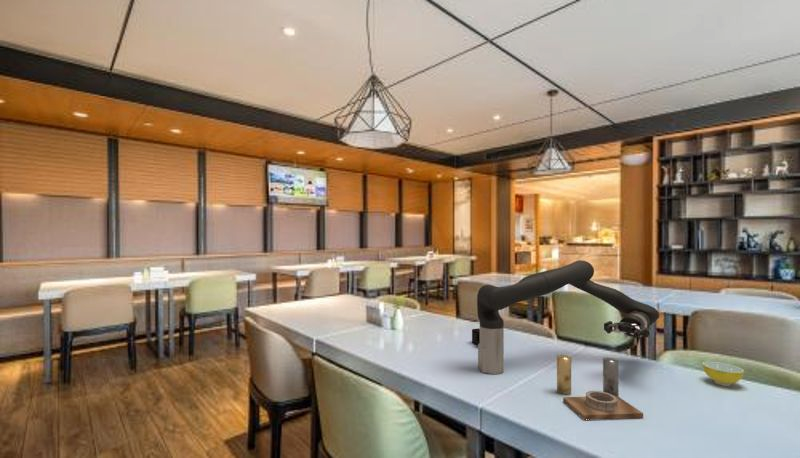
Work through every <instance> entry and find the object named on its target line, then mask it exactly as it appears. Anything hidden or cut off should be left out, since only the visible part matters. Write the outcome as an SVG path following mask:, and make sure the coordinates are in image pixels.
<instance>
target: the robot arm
mask: <svg viewBox="0 0 800 458" xmlns="http://www.w3.org/2000/svg"><path fill="white" fill-rule="evenodd" d="M594 275H595V269H594V266H593V265H592V264H591V263H590V262H589V261H586V260H576V261H574V262H572V263H569V264H567V265H564V266H561V267H557V268H553V269H549V270H544V271H540V272H536V273H532V274H529V275H526V276H525V277H523V278H521V279H520V280H519V281H517V282H516V283H514V284H510V285H504V286H496V285H491V284H484V285H482V286H481V287H480V288H479V290H478V291H477V297H476V306H477V307H476V308H477V311H476V312H477V318H478V322H479V329H480V344H478V346H477V368H478V370H480V372H481V373H483V374H490V375H499V374H502V373H504V370H505V369H504V366H505V365H504V364H505V363H504V361H505V360H504V353H505V351H504V350H505V349H504V348H505V347H504V346H505V345H504V344H505V343H504V337H505V334H504V331H505V330H504V327H505V326H504V325H505V324H504V319H503V318H502V316H501V315H500V312H499V311H502V310H504V309H506V308H508V307H510V306H513V305H515V304H517V303H520V302H525V301H528V300H531V299H534V298H535V299H536V298H538V297H542V296H543V297H544V296H546V295H548V294H551V293H553V292H555V291H558V290H560V289H561V288H563V287H565V286H568V285H571V286H572V287H574V288H576V289H578V290H581V291H583V292H585V293H587V294H589V295H591V296H593V297H595V298H597V299H600V300H601V301H603V302H605V303H606V304H608V305H609V306H611V307H613V309H616V310H617V311H618V312H620V313H622V314H624V315H626V316H624V317H623V318H621V319H620V321H619V322H613V321H612V320H609V321H607V322H604V323H603V331H605V332H606V334H611V333H613V332H614V333H616V334H619V333H622V334H624V335H626V336H628V337H633V338H634V339H637V338H642V336H643V337H644V338H649V337H650V336H651V325H653V324H654V323H655V322H657V321H658V319H660V313H659V311H658V309H657V308H655V307H653V305H650V304H646V303H644V302H642V301H641V302H640V301H637V300H635V299H633V298H631V297H630V296H629V295H627V294H625V293H624V292H622V291H620V290H618V289H616V288H613V287H610V286H606V285H602V284H600V283H596V282H594V281H593V280H591V279H592V278H593V276H594Z"/></svg>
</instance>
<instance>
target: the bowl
mask: <svg viewBox="0 0 800 458" xmlns="http://www.w3.org/2000/svg"><path fill="white" fill-rule="evenodd" d="M701 365H702V369H703V371H704V373H705V374H706V375H707V377H709V378H710V379H711V380H713V381H714V384H716V385H719V386H722V387H723V386H724V387H730V386H732V384H736V383H738V382H739V381H740V380H741V379H742V378H743V376H744V374H745V373H744V369H743V368H741V367H740V366H739V367H738V366H736V365H733V364H728V363H724V362H718V361H703V362H702V364H701Z"/></svg>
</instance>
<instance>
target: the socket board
mask: <svg viewBox="0 0 800 458" xmlns="http://www.w3.org/2000/svg"><path fill="white" fill-rule="evenodd" d="M562 400H563V401H562V402H563V403H564V404H565V405H566V404H567V405H568V406H569V407H568V406H567V405H566V406H567V407H568V408H569V409H571V410H572V411H573V410H574V411H575V412H576V413H577V414H576V413H575V412H574V411H573V412H574V413H575V414H576V415H577V416H579V415H580V416H581V417H582V418H583V419H584V420H585V421H591V420H590V419H593V420H592V421H595V420H594V419H605V420H606V419H610V420H632V419H638V420H639V419H644V412H642V411H641V410H639V409H638V408H636V407H635V406H633V405H631V404H630V403H629V402H627V401H625V400H624V399H622V398H621V397H620V396H619V397H618V396H614V395H612V394H609V393H606V392H603V391H600V390H589V391H587V392H585V396H566V397H565V396H563V398H562ZM580 416H579V417H580ZM581 417H580V418H581ZM582 418H581V419H582ZM583 419H582V420H583ZM586 419H587V420H586ZM588 419H589V420H588ZM584 420H583V421H584ZM605 420H604V421H605Z"/></svg>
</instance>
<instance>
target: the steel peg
mask: <svg viewBox="0 0 800 458" xmlns="http://www.w3.org/2000/svg"><path fill="white" fill-rule="evenodd" d="M619 366H620V364H619V360H618V359H616V358H614V357H603V358H602V392H606V393H609V394H612V395H614V396H618V397H620V396H619V392H620V391H619V388H620V387H619V386H620V385H619V383H620V381H619V374H620V373H619V371H620V369H619Z"/></svg>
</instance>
